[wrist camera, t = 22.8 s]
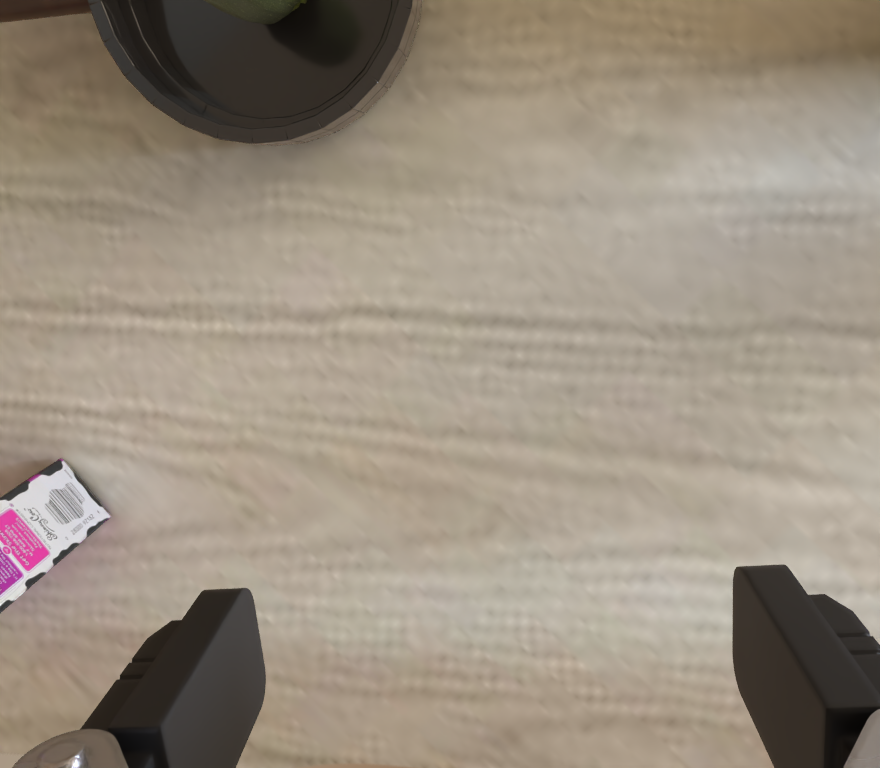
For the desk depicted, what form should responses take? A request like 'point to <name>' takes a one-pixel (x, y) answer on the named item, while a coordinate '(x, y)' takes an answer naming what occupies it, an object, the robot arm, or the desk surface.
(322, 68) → the pan
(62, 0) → the pan handle
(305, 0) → the vegetable
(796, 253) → the desk surface
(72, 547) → the candy bar box
